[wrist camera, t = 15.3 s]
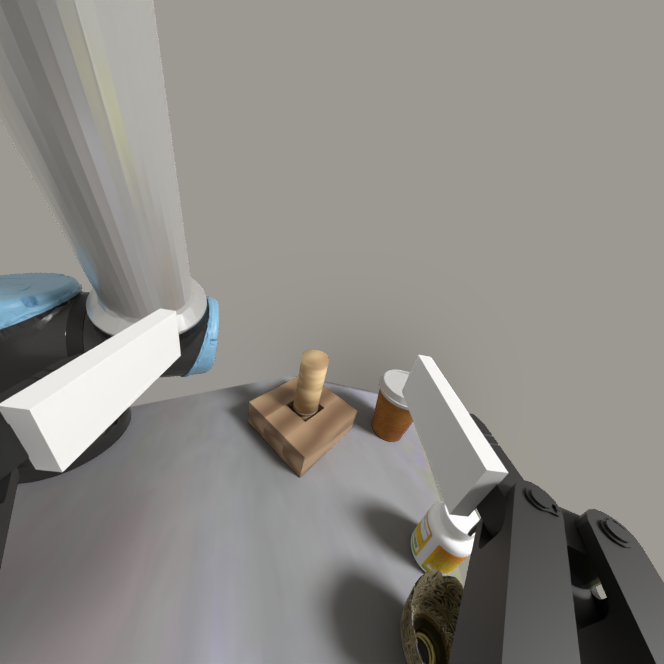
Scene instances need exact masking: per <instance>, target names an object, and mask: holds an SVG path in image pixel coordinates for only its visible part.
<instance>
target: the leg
mask: <svg viewBox="0 0 664 664" xmlns="http://www.w3.org/2000/svg"><path fill="white" fill-rule="evenodd" d="M328 362H329V357H328V355H327V354H325V353H324V352H322V351H319V350H307V351H305V352H303V354H302V359H301V365H300V371H299V376H298V382H297V388H296V394H295V400H294V402H293V409H294V411H295V413H296V414H297V415H298V416H299V417H300V418H301V419H302V420H303V421H305V422H306V421H308V420H309V419H310V418H312V417H313V415H314V414H315V413H316V412H317V411H318V407H319V401H320V396H321V392H322V388H323V384H324V379H325V375H326V371H327V367H328Z"/></svg>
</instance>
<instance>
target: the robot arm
mask: <svg viewBox="0 0 664 664" xmlns="http://www.w3.org/2000/svg"><path fill="white" fill-rule="evenodd" d="M0 122H1V124H2V125H3V127H4V129H5V131H6V132H7V134H8V136H9V138H10V140H11V141H12V143H13V145H14V147H15V148H16V150H17V152H18V154H19V156H20V158H21V159H22V161H23V163H24V165H25V166H26V168H27V170H28V172H29V174H30V175H31V177H32V179H33V181H34V183H35V184H36V186H37V188H38V190H39V191H40V193H41V195H42V197H43V198H44V200H45V202H46V204H47V206H48V208H49V209H50V211H51V213H52V215H53V217H54V218H55V220H56V222H57V223H58V225H59V227H60V229H61V230H62V233H63V234H64V236H65V238H66V240H67V241H68V243H69V245H70V247H71V248H72V250H73V252H74V254H75V256H76V258H77V259H78V261H79V263H80V265H81V267H82V268H83V270H84V272H85V274H86V276H87V277H88V279H89V281H90V283H91V284H92V286H93V289H92V290H91V292H90V293H89V292H82V291H81V289H82V286H81V285H80V284H79V283H78V281H77V280H76V279H74V278H73V277H70V276H65V275H63V274H55V273H24V274H10V275H2V276H0V568H1V563H2V558H3V553H4V548H5V543H6V538H7V534H8V529H9V524H10V519H11V514H12V509H13V504H14V499H15V494H16V489H17V485H18V483H26V482H33V481H38V480H42V479H46V478H50V477H53V476H56V475H59V474H62V473H64V472H67V471H69V470H72V469H74V468H76V467H78V466H80V465H82V464H84V463H86V462H88V461H90V460H92V459H93V458H95V457H96V456H98V455H100V454H101V453H102V452H104V451H105V450H107V449H108V448H109V447H110V446H112V445H113V444H114V443H115V442H116V441H117V440H118V439H119V438H120V437H121V436H122V434H123V433H124V432H125V430H126V429H127V427H128V425H129V423H130V420H131V410H130V405H131V404H132V403H133V402H134V401H135V400H136V399H137V398H138V397H139V396H140V395H141V394H142V393H143V392H144V391H145V390H146V389H147V388H148V387H149V386H150V385H151V384H152V383H153V382H154V381H155V380H156V379H158V378H159V377H170V376H181V377H187V376H189V375H193V374H201V373H205V372H207V371H209V370H210V369H211V368H212V366H213V364H214V361H215V356H216V350H217V338H218V330H219V306H218V302H217V301H216V300H215V299H213V298H209V297H207V296H206V295H205V292H204V290H203V289H202V287H201V286H200V285H199V284H198V283H197V282H196V281H195V280H194V279H192V278H191V277H190V270H189V263H188V256H187V248H186V241H185V233H184V226H183V219H182V211H181V204H180V196H179V189H178V181H177V174H176V167H175V159H174V151H173V144H172V137H171V129H170V122H169V114H168V107H167V99H166V92H165V85H164V77H163V70H162V62H161V55H160V47H159V40H158V33H157V25H156V18H155V11H154V3H153V0H0ZM402 393H403V396H404V399H405V401H406V404H407V406H408V409H409V412H410V414H411V417H412V419H413V422H414V424H415V427H416V430H417V432H418V435H419V437H420V440H421V443H422V445H423V448H424V450H425V453H426V456H427V458H428V461H429V463H430V466H431V468H432V471H433V474H434V476H435V479H436V481H437V484H438V487H439V489H440V492H441V494H442V497H443V499H444V502H445V505H446V507H447V510H448V512H449V515H457V516H467V517H469V515H470V514H471V513H472V512H473V511H474V510H475V509H476V508H477V510H478V512H479V514H480V516H481V519H480V520H479V521H478V522H477V523H476V524H475V525H474V526H473V527H472V528H471V529H470V530H469V532H468V535H469V536H470V537H471V536H472V535H473V534H474V533H475V537H474V542H473V547H472V552H471V557H470V561H469V566H468V571H467V576H466V581H465V586H464V590H463V595H462V600H461V605H460V610H459V615H458V620H457V624H456V629H455V634H454V639H453V644H452V649H451V654H450V658H449V663H448V664H664V583H663V581H662V579H661V578H660V576H659V575H658V573H657V571H656V569H655V568H654V566H653V564H652V563H651V561H650V560H649V558H648V556H647V555H646V553H645V551H644V550H643V548H642V547H641V545H640V544H639V543H638V541H637V540H636V539H635V537H634V536H633V535H632V534H631V533H630V532H629V531H628V530H627V529H626V528H625V527H624V526H622V525H621V524H620V523H619V522H618V521H616V520H615V519H613V518H612V517H610V516H608V515H607V514H605V513H603V512H601V511H598V510H595V509H591V510H587V511H586V512H585V513H584V514H582V515H581V516H579V515H577V514H575V513H572V512H570V511H568V510H565V509H563V508H561V507H558V505H557V504H556V502H555V501H554V500H553V499H552V498H551V497H550V496H549V495H548V494H547V493H546V492H545V491H543V490H542V489H541V488H539V487H538V486H536V485H535V484H533V483H531V482H528V481H524V480H523V478H522V477H521V476H520V474H519V473H518V471H517V470H516V469H515V467H514V465H513V464H512V463H511V461H510V460H509V459H508V457H507V456H506V454H505V453H504V451H503V450H502V449H501V447H500V446H498V443H497V442H496V440H495V439H494V437H492V436H491V435H492V434H491V433H490V432H489V430H488V429H487V427H486V426H485V425H484V424H483V423H482V422H481V421H480V420H479V419H478V418H477V417H476V416H475V415H474V414H469V413H468V412H467V410H466V409H465V407H464V406H463V404H462V403H461V401H460V400H459V398H458V397H457V395H456V394H455V393H454V391H453V390H452V388H451V386H450V385H449V383H448V382H447V380H446V379H445V377H444V376H443V374H442V373H441V372H440V370H439V368H438V367H437V365H436V364H435V363H434V361H433V359H432V358H431V357H428V356H422V355H418V356H417V359H416V361H415V363H414V365H413V367H412V370H411V372H410V374H409V376H408V378H407V381H406V383H405V385H404V387H403V389H402ZM600 584H602V587H603V589H604V591H605V594H606V596H607V598H605V599H601V598H600V596H599V594H598V592H597V590H596V586H598V585H600Z"/></svg>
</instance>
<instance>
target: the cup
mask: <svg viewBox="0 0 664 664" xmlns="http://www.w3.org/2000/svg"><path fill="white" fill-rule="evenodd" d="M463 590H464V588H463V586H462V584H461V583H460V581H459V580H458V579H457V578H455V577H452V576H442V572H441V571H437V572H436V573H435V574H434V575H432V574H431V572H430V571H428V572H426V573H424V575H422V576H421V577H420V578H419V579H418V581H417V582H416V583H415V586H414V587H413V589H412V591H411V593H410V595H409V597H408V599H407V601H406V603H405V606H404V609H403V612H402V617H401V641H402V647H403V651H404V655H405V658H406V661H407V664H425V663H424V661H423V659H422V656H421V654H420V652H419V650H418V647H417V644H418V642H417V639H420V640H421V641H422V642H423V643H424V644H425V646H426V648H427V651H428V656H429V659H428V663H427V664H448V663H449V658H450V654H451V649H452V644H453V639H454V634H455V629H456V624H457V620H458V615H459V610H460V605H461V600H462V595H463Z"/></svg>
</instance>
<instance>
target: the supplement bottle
mask: <svg viewBox="0 0 664 664" xmlns="http://www.w3.org/2000/svg"><path fill="white" fill-rule="evenodd" d="M478 521H479V518H478V516H477V514H476V512H475V511H473V512H472V513H471V514H470V515H469V517H467V516H457V515H449V512H448V510H447V507H446V505H445V502H437V503H435V504H434V505H432V507H431V508H430V509H429V510H428V512H427V513H426V515H425V516H424V517H423V519H422V520H421V521H420V523H419V524H418V526H417V527H416V528H415V530H414V531H413V533H412V536H411V549H412V553H413V556H414V558H415V560H416V562H417V563H418V565H419V566H420V567H421V568H422V570H423V571H424V572H428V571H430V572H431V574H432V575H434V574H435V573H436V572H437V571H441V572H442V576H448V575H449V574H450V573H451V572H452V571H453V570H454V569H455V568H456V567H457V566H458V565H460V564H461V563H462V562H463V561H464V560H465V559H466V558H467V557H468V556H469V555H470V554H471V552H472V547H473V542H474V537H475V533H474V534H473V535H472V536H471V537H470V536H469V535H468V532H469V530H470V529H471V528H472V527H473V526H474V525H475V524H476V523H477V522H478Z"/></svg>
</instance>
